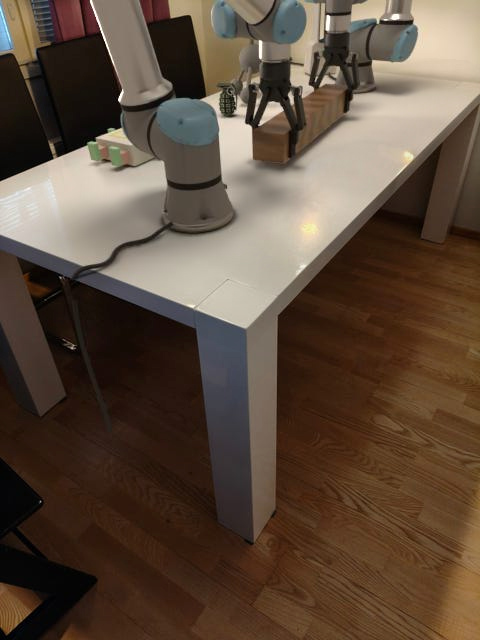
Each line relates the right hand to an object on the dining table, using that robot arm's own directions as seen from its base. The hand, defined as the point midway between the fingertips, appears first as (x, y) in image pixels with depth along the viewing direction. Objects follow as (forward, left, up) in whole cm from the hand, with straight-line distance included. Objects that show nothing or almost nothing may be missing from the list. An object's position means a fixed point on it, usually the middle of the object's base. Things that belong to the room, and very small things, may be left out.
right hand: (332, 110), depth 159 cm
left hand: (+40, -18, 0) cm, 44 cm away
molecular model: (-31, -26, -3) cm, 41 cm away
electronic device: (-68, 0, -3) cm, 68 cm away
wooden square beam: (+20, -9, -1) cm, 22 cm away
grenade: (-7, -35, -3) cm, 36 cm away
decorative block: (+30, -58, -3) cm, 65 cm away
